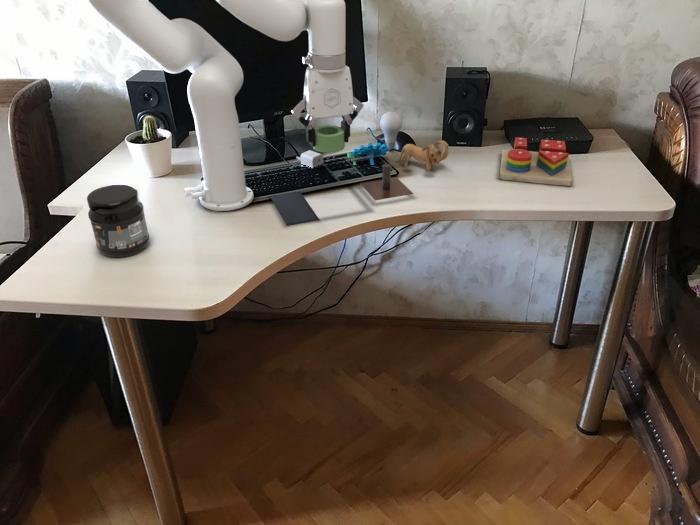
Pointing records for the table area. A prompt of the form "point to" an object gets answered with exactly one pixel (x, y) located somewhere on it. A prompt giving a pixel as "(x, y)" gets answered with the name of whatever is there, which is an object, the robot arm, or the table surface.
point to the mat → (294, 208)
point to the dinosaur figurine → (367, 153)
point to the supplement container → (118, 220)
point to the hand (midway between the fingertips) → (328, 141)
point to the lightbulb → (390, 127)
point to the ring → (329, 139)
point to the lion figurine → (425, 153)
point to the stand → (386, 186)
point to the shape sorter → (537, 163)
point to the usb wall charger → (311, 159)
